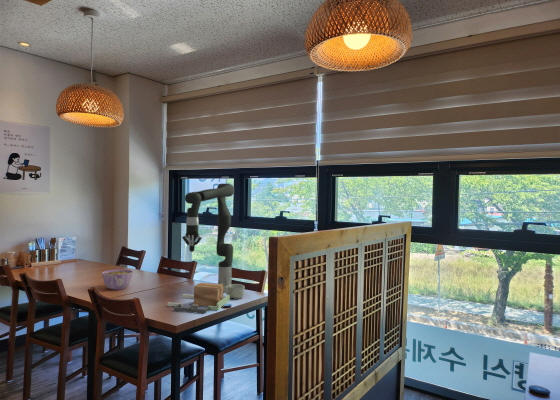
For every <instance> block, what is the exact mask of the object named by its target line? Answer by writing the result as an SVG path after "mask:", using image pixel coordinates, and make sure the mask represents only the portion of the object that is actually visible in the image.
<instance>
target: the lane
mask: <svg viewBox="0 0 560 400" xmlns="http://www.w3.org/2000/svg"><path fill="white" fill-rule="evenodd" d="M181 298H182V299H192V298H193V300H194V294H184V293H183V294H181ZM230 298H231V297H230V295H227V294H226V296H224V297H223V299H222V300H221V301H219V302H218V303H217V307H216V306H208V307H204V308H199V306H198V305H194V304H191V305H190V306H188V307H186V306H183V303H182V302H169V301H168V302H167V304H166V306H167V307H171V306H175V307H173V311H174V310H175V311H174V312H181V311H187V312H186V313H192V312H197V313H196V314H203V313H205V314H206V312H207V311H208V312H210V311H217V310H218V311H219V310H221V309H222V308H223V307H224V306H225V305H224V304H226V303H227V302H228V301H229V302H230V301H231V299H230ZM229 302H228V303H229ZM228 303H227V304H228ZM227 304H226V305H227ZM223 305H224V306H223ZM222 306H223V307H222ZM221 307H222V308H221ZM220 308H221V309H220ZM189 311H190V312H189ZM208 312H207V313H208Z"/></svg>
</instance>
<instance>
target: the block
mask: <svg viewBox="0 0 560 400" xmlns="http://www.w3.org/2000/svg"><path fill="white" fill-rule="evenodd" d="M193 295H194V299H193V305H198V307H202V306H207V307H208V306H216V307H217V303H218V302H219V301H221V300H222V299H223V298H224V292H223V284H218V283H212V282H199V283H197V284H195V285H194V286H193ZM207 307H206V308H207Z"/></svg>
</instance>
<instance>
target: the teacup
mask: <svg viewBox="0 0 560 400" xmlns="http://www.w3.org/2000/svg"><path fill="white" fill-rule="evenodd" d="M225 288H227V289H228V292H226V291H225ZM223 291H224V292H223V293H225V294H226V296H227V295H230V298H231V299H232V298H234V299H233V300H239V298H240V299H242V297H244V295H245V285H244V284H240V283H231V285H229V286H228V287H227V286H225V287H224V288H223Z"/></svg>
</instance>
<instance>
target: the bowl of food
mask: <svg viewBox="0 0 560 400" xmlns="http://www.w3.org/2000/svg"><path fill="white" fill-rule="evenodd" d="M133 272H134V271H133V270H132V269H131V270H130V269H121V268H120V269H117V268H116V269H108V270H104V271H102V272H101V275H102V279H103V284H104V285H105V287H107V288H109V289H110V290H112V291H120V290H123V289H125V288H126V287H128V286H129V285H130V283H131V281H132V278H133V277H132V276H133Z"/></svg>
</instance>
